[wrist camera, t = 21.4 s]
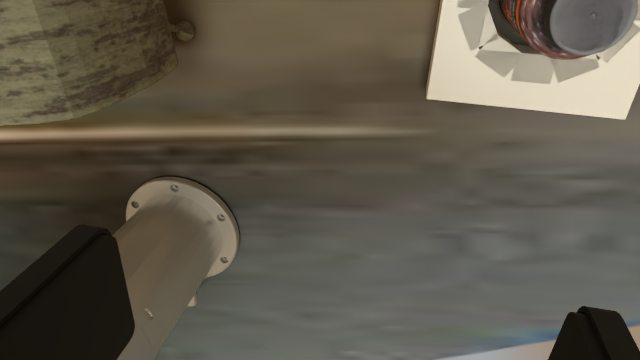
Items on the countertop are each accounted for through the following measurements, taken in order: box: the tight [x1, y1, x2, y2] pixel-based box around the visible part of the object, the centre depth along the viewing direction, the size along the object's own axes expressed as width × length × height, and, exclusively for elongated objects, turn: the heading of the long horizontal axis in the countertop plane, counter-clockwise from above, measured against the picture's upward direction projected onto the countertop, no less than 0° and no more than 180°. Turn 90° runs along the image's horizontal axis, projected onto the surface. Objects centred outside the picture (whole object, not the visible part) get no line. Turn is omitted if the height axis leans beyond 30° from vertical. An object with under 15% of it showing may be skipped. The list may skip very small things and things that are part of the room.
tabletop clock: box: [0, 0, 194, 126], centre depth 28 cm, size 14×9×25 cm, turn 95°
